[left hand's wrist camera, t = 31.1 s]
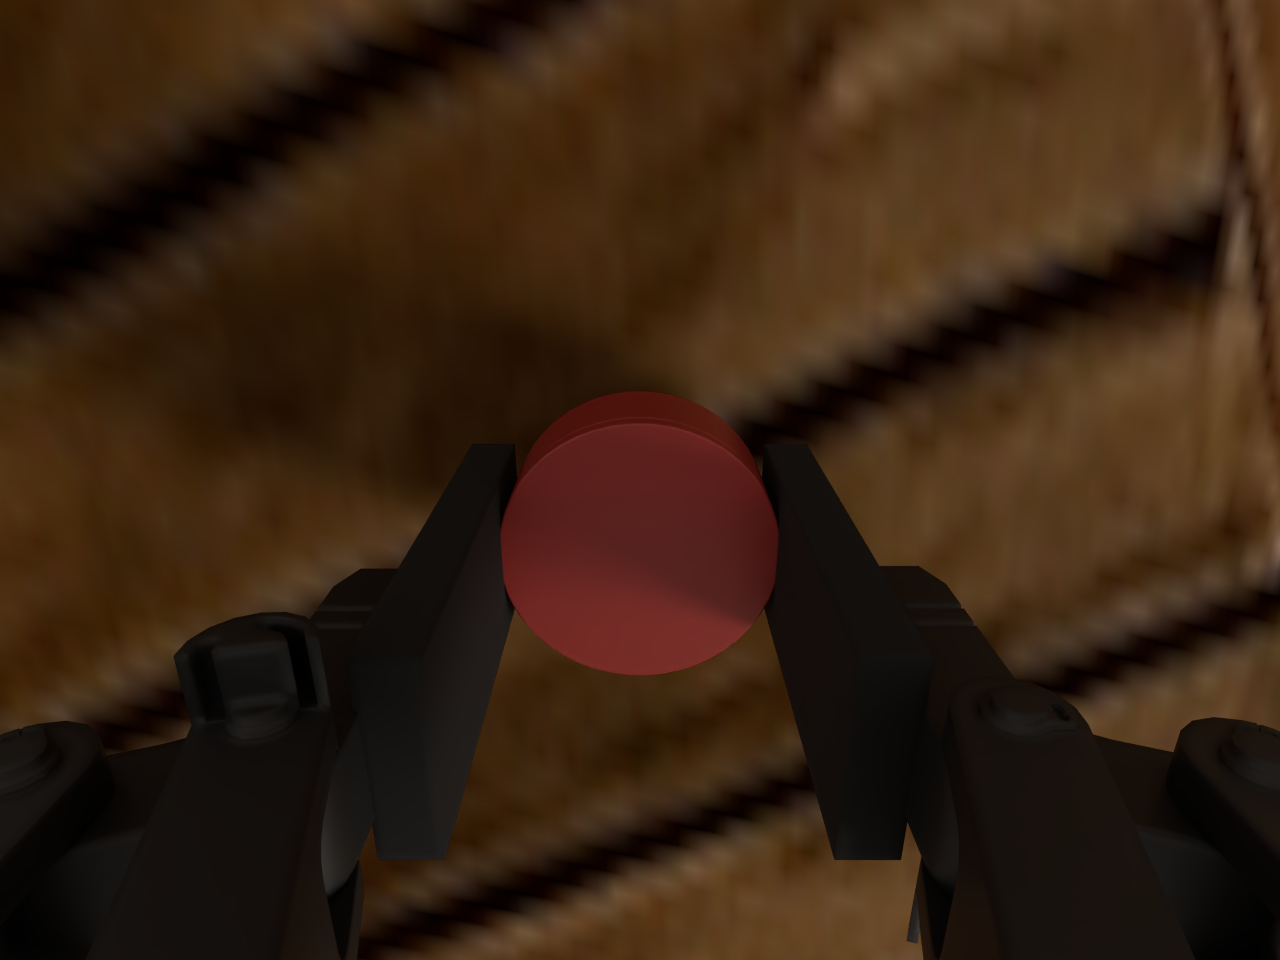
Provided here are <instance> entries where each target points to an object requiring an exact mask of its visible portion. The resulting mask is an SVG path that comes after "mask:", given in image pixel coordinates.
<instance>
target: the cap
mask: <svg viewBox="0 0 1280 960" xmlns="http://www.w3.org/2000/svg"><path fill="white" fill-rule="evenodd" d="M500 535H501V550H502V563H503V577H504V585H505V588H506V591H507V594H508V596H509V598H510V600H511V602H512V604H513V606H514V608H515V609H516V611H517V612H518V614H519V615H520V617H521V618H522V619H523V621H524V622H525V623H526V625H527V626H528V627H529V628H530V629H531V630H532V631H533V632H534V633H535V634H536V635H537V636H538V637H539V638H540V639H541V640H543V641H544V642H545V643H546V644H547V645H548V646H550V647H551V648H553V649H554V650H556V651H557V652H559V653H560V654H562V655H564V656H566V657H568V658H570V659H572V660H574V661H576V662H578V663H580V664H583V665H586V666H588V667H591V668H594V669H598V670H602V671H606V672H610V673H617V674H625V675H653V674H663V673H668V672H673V671H678V670H681V669H685V668H688V667H691V666H694V665H697V664H699V663H701V662H703V661H705V660H708V659H710V658H712V657H713V656H715V655H717V654H718V653H720V652H722V651H723V650H725V649H726V648H728V647H729V646H730V645H732V644H733V643H734V642H735V641H737V640H738V639H739V638H740V637H741V636H742V635H743V634H744V633H745V632H746V631H747V630H748V629H749V628H750V627H751V626H752V624H753V623H754V622H755V621H756V619H757V618H758V617H759V615H760V614H761V612H762V611H763V609H764V607H765V605H766V604H767V602H768V600H769V598H770V596H771V593H772V591H773V588H774V586H775V577H776V564H777V550H778V536H779V527H778V522H777V518H776V515H775V512H774V509H773V506H772V503H771V501H770V498H769V496H768V493H767V491H766V488H765V485H764V483H763V480H762V478H761V475H760V473H759V470H758V467H757V465H756V462H755V461H754V459H753V457H752V455H751V453H750V451H749V449H748V448H747V446H746V445H745V444H744V442H743V441H742V439H741V438H740V437H739V435H738V434H737V433H736V432H735V431H734V430H733V429H732V428H731V427H730V426H729V425H728V424H727V423H725V422H724V421H723V420H722V419H720V418H719V417H718V416H717V415H715V414H714V413H712V412H710V411H709V410H707V409H705V408H704V407H702V406H700V405H698V404H696V403H693V402H691V401H689V400H686V399H684V398H680V397H677V396H673V395H670V394H664V393H657V392H648V391H631V392H621V393H614V394H610V395H606V396H602V397H598V398H596V399H593V400H590V401H588V402H585V403H583V404H581V405H579V406H577V407H575V408H574V409H572V410H570V411H568V412H567V413H565V414H564V415H563V416H561V417H560V418H558V419H557V420H556V421H555V422H554V423H552V424H551V425H550V426H549V427H548V428H547V429H546V430H545V431H544V432H543V433H542V435H541V436H540V437H539V438H538V440H537V441H536V442H535V443H534V445H533V446H532V448H531V450H530V451H529V453H528V455H527V456H526V458H525V461H524V463H523V465H522V468H521V470H520V473H519V475H518V478H517V480H516V483H515V486H514V488H513V491H512V493H511V496H510V498H509V501H508V503H507V506H506V509H505V511H504V514H503V518H502V522H501V526H500Z"/></svg>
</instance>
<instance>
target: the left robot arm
mask: <svg viewBox="0 0 1280 960" xmlns="http://www.w3.org/2000/svg"><path fill="white" fill-rule="evenodd" d="M516 480H517V472H516V456H515V444H472V446H471V447H470V449H469V451H468V452H467V454H466V456H465V457H464V459H463V461H462V463H461V464H460V466H459V468H458V469H457V471H456V473H455V474H454V476H453V478H452V479H451V481H450V483H449V484H448V486H447V488H446V489H445V491H444V493H443V494H442V496H441V498H440V499H439V501H438V503H437V504H436V506H435V508H434V510H433V511H432V513H431V515H430V516H429V518H428V520H427V521H426V523H425V525H424V526H423V528H422V530H421V531H420V533H419V535H418V536H417V538H416V540H415V541H414V543H413V545H412V546H411V548H410V550H409V551H408V553H407V555H406V556H405V558H404V560H403V562H402V563H401V565H400V567H399V568H398V569H360V570H358V571H357V572H355V573H354V574H352V575H351V576H349V577H347V578H346V579H344V580H343V581H341V582H340V583H338V584H337V585H335V586H334V587H333V588H332V590H331V591H330V592H329V594H328V595H327V596H326V598H325V599H324V601H323V602H322V603H321V605H320V606H319V611H316V612H315V613H314V614H313V616H312V617H311V619H310V620H309V619H308V618H306V617H304V616H300V615H296V614H292V613H288V612H268V613H257V614H252V615H247V616H242V617H237V618H233V619H231V620H228V621H225V622H223V623H220V624H217V625H215V626H212V627H209V628H208V629H206V630H204V631H203V632H201V633H199V634H198V635H196V636H195V637H193V638H191V639H190V640H188V641H187V642H186V643H185V644H184V645H183V646H182V647H181V648H180V650H179V651H178V652H177V653H176V654H175V655H174V660H175V663H176V667H177V671H178V675H179V679H180V682H181V686H182V690H183V694H184V697H185V701H186V705H187V709H188V713H189V716H190V720H191V724H192V726H191V728H190V731H189V733H188V735H187V737H186V738H184V739H181V740H177V741H173V742H170V743H166V744H161V745H156V746H151V747H147V748H142V749H137V750H132V751H127V752H123V753H118V754H113V755H108V756H106V754H105V750H104V747H103V744H102V741H101V738H100V735H99V734H98V733H97V732H96V731H95V730H94V729H92V728H91V727H90V726H89V725H88V724H82V723H76V722H70V721H61V722H52V723H42V724H36V725H32V726H27V727H23V729H16V730H13V731H10V732H7V733H4V734H2V735H0V960H357V952H358V943H359V934H360V925H361V917H362V908H363V899H364V886H363V879H362V873H361V867H360V861H359V855H360V853H361V850H362V848H363V845H364V843H365V841H366V838H367V836H368V833H369V831H370V828H371V826H373V832H374V838H375V844H376V850H377V856H378V860H445V856H446V853H447V849H448V845H449V842H450V838H451V835H452V831H453V828H454V824H455V820H456V817H457V813H458V810H459V806H460V803H461V799H462V795H463V792H464V788H465V785H466V781H467V778H468V774H469V770H470V767H471V763H472V760H473V756H474V752H475V749H476V745H477V742H478V738H479V735H480V731H481V727H482V724H483V720H484V717H485V713H486V710H487V706H488V702H489V699H490V695H491V692H492V688H493V685H494V681H495V677H496V674H497V670H498V667H499V663H500V659H501V656H502V652H503V649H504V645H505V642H506V638H507V634H508V631H509V627H510V624H511V620H512V617H513V613H514V609H515V608H514V606H513V604H512V602H511V600H510V598H509V596H508V594H507V591H506V588H505V585H504V577H503V563H502V550H501V535H500V526H501V522H502V518H503V514H504V511H505V509H506V506H507V503H508V501H509V498H510V496H511V493H512V491H513V488H514V486H515V483H516ZM762 480H763V483H764V485H765V488H766V491H767V493H768V496H769V498H770V501H771V503H772V506H773V509H774V512H775V515H776V518H777V522H778V527H779V536H778V550H777V564H776V577H775V586H774V588H773V591H772V593H771V596H770V598H769V600H768V602H767V604H766V605H765V607H764V609H765V613H766V616H767V620H768V623H769V627H770V631H771V634H772V638H773V641H774V645H775V648H776V652H777V656H778V659H779V663H780V666H781V670H782V674H783V677H784V681H785V684H786V688H787V691H788V695H789V699H790V702H791V706H792V709H793V713H794V716H795V720H796V724H797V727H798V731H799V734H800V738H801V742H802V745H803V749H804V752H805V756H806V759H807V763H808V767H809V770H810V774H811V777H812V781H813V784H814V788H815V792H816V795H817V799H818V802H819V806H820V810H821V813H822V817H823V820H824V824H825V827H826V831H827V835H828V838H829V842H830V845H831V849H832V852H833V856H834V860H901V856H902V850H903V844H904V838H905V832H906V826H907V822H908V824H909V827H910V829H911V832H912V834H913V836H914V839H915V841H916V844H917V846H918V849H919V851H920V854H921V861H920V867H919V873H918V878H917V884H916V889H915V895H914V900H913V906H912V911H911V917H910V922H909V929H908V936H907V941H908V942H913V943H917V942H918V937H919V932H921V941H922V950H923V959H924V960H1280V732H1279V731H1277V730H1275V729H1272V728H1269V727H1266V726H1263V725H1257V723H1252V722H1247V721H1243V720H1235V719H1226V718H1216V717H1212V718H1206V719H1200V720H1194V721H1191V722H1190V723H1189V724H1188V725H1187V726H1185V727H1184V728H1183V729H1182V730H1181V731H1180V734H1179V737H1178V740H1177V743H1176V746H1175V750H1174V752H1169V751H1164V750H1159V749H1154V748H1150V747H1145V746H1140V745H1135V744H1130V743H1125V742H1121V741H1116V740H1111V739H1108V738H1104V737H1100V736H1097V735H1093V734H1092V731H1091V729H1090V727H1089V725H1088V723H1087V722H1086V721H1085V719H1084V718H1083V717H1082V715H1081V714H1080V713H1079V712H1078V710H1077V709H1076V708H1075V707H1074V706H1072V705H1071V704H1070V703H1068V702H1067V701H1065V700H1064V699H1063V698H1061V697H1060V696H1058V695H1057V694H1056V693H1053V692H1051V691H1049V690H1047V689H1044V688H1042V687H1040V686H1037V685H1035V684H1033V683H1030V682H1026V681H1022V680H1017V679H1015V678H1014V677H1013V675H1012V674H1011V673H1010V671H1009V670H1008V669H1007V667H1006V666H1005V664H1004V663H1003V662H1002V660H1001V659H1000V658H999V656H998V655H997V654H996V652H995V651H994V649H993V648H992V647H991V645H990V644H989V643H988V641H987V640H986V638H985V637H984V636H983V634H982V633H981V632H980V630H979V629H978V627H977V626H974V625H973V621H972V619H971V618H970V616H969V615H968V614H967V612H966V611H965V610H964V609H961V604H960V603H959V601H958V600H957V599H956V597H955V596H954V595H953V593H952V592H951V590H950V589H949V588H948V586H947V585H946V584H945V583H944V582H942V581H941V580H939V579H937V578H936V577H934V576H933V575H931V574H930V573H928V572H927V571H925V570H924V569H922V568H921V567H919V566H879V565H878V563H877V562H876V560H875V558H874V557H873V555H872V553H871V552H870V550H869V548H868V546H867V545H866V543H865V541H864V540H863V538H862V536H861V535H860V533H859V531H858V530H857V528H856V526H855V525H854V523H853V521H852V520H851V518H850V516H849V515H848V513H847V511H846V510H845V508H844V506H843V504H842V503H841V501H840V499H839V498H838V496H837V494H836V493H835V491H834V489H833V488H832V486H831V484H830V483H829V481H828V479H827V478H826V476H825V474H824V473H823V471H822V469H821V468H820V466H819V464H818V462H817V461H816V459H815V457H814V456H813V454H812V452H811V451H810V449H809V447H808V446H807V444H764V457H763V473H762Z"/></svg>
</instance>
